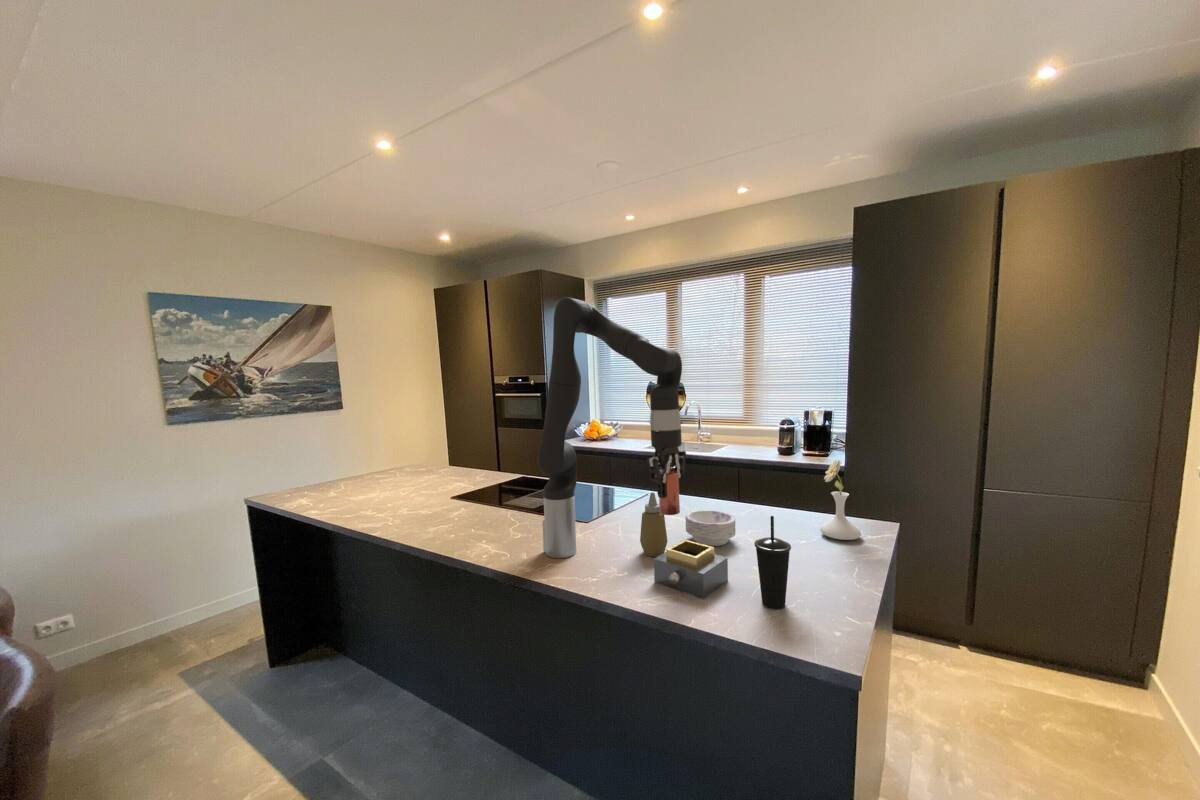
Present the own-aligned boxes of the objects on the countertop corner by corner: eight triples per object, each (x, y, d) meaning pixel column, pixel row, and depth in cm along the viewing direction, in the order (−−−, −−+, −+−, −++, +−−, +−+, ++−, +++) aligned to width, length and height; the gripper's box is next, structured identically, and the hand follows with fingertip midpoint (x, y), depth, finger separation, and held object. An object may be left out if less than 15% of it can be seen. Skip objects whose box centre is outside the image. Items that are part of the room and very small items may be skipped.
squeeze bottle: (667, 559, 126) (665, 496, 125) (638, 557, 127) (637, 496, 127) (668, 548, 134) (667, 489, 133) (641, 547, 135) (640, 489, 134)
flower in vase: (823, 528, 147) (822, 453, 146) (863, 534, 140) (862, 456, 139) (815, 540, 136) (815, 460, 135) (858, 548, 130) (858, 463, 128)
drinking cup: (749, 596, 103) (748, 512, 102) (781, 594, 104) (780, 510, 103) (764, 614, 95) (763, 522, 94) (798, 611, 96) (797, 520, 95)
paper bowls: (741, 537, 141) (741, 512, 141) (727, 553, 128) (727, 527, 128) (695, 529, 149) (695, 506, 149) (678, 544, 137) (677, 519, 136)
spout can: (655, 512, 111) (653, 461, 110) (667, 508, 115) (664, 458, 114) (672, 516, 108) (669, 463, 107) (683, 511, 111) (681, 459, 111)
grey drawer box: (649, 584, 111) (648, 551, 110) (680, 566, 121) (679, 535, 120) (699, 602, 101) (698, 566, 101) (727, 581, 111) (727, 547, 111)
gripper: (669, 424, 118) (672, 487, 119) (635, 430, 108) (639, 499, 108) (694, 424, 113) (697, 490, 114) (661, 431, 103) (664, 503, 103)
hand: (668, 494), depth 111 cm, fingers closed on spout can, 5 cm apart
